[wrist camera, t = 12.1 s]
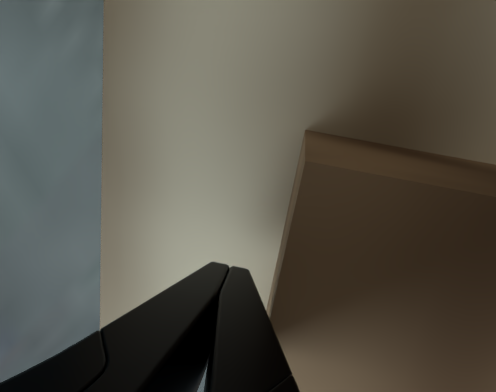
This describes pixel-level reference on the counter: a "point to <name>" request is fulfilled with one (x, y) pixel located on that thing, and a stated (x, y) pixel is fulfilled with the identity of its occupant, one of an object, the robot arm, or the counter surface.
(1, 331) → the counter surface
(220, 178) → the deck
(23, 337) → the counter surface
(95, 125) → the counter surface
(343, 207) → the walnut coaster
